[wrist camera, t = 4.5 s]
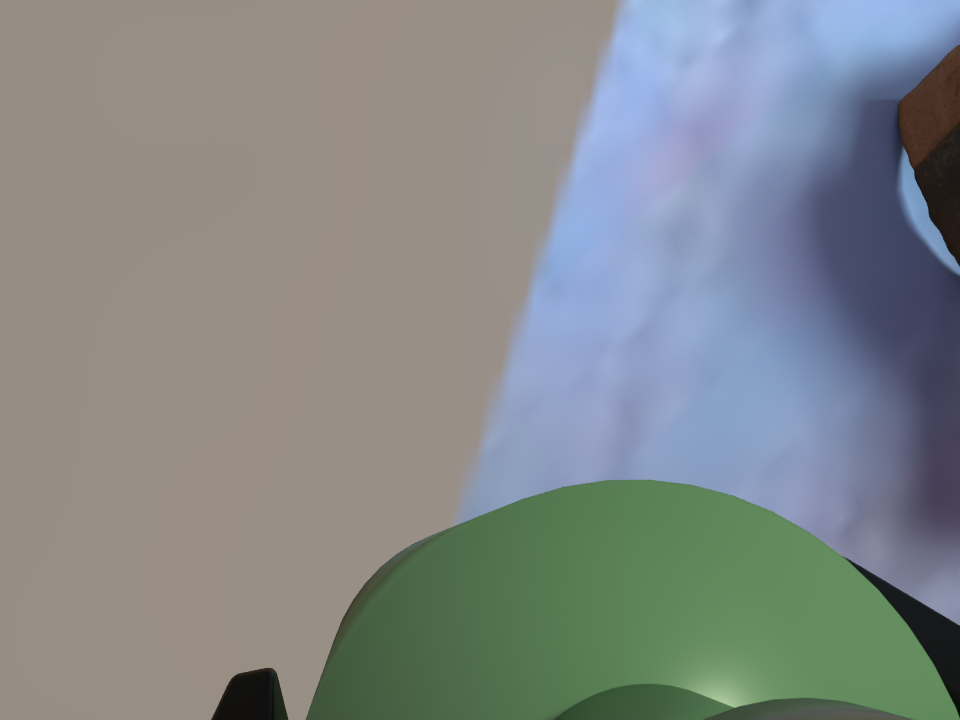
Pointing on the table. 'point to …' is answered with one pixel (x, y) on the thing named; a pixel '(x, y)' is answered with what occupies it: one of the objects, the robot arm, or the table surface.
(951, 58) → the pottery mug
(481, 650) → the bottle
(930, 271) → the table surface
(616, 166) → the table surface
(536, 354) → the table surface
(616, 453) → the table surface
